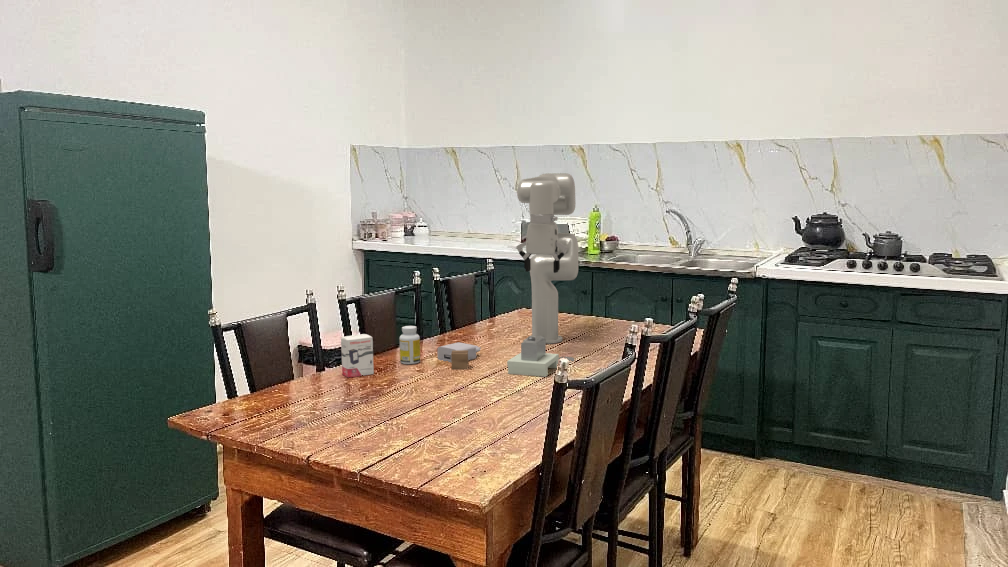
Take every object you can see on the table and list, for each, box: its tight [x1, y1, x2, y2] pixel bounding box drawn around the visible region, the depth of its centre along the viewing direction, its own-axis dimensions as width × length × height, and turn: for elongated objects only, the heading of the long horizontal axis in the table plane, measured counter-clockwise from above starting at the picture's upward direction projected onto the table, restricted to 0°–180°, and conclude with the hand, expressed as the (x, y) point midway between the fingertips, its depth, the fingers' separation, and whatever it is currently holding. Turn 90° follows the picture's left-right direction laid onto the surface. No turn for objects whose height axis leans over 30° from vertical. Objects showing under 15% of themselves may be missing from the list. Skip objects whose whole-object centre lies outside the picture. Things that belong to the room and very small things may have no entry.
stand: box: [506, 352, 560, 378], centre depth 248 cm, size 14×12×4 cm
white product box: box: [340, 333, 375, 379], centre depth 244 cm, size 8×5×12 cm, turn 123°
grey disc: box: [558, 356, 575, 362], centre depth 261 cm, size 5×5×1 cm
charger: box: [436, 342, 482, 363], centre depth 266 cm, size 5×9×15 cm
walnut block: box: [450, 350, 469, 371], centre depth 252 cm, size 5×5×5 cm
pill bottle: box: [399, 325, 421, 365], centre depth 259 cm, size 6×6×12 cm
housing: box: [520, 334, 547, 361], centre depth 247 cm, size 9×5×7 cm, turn 160°
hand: (541, 271), depth 265 cm, fingers open, 9 cm apart
